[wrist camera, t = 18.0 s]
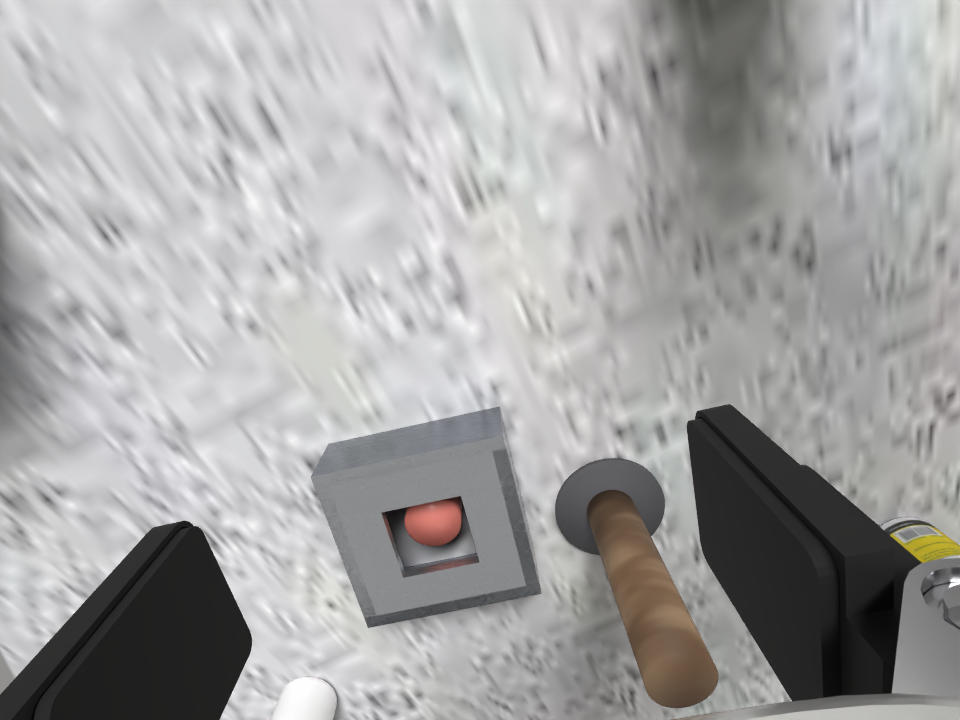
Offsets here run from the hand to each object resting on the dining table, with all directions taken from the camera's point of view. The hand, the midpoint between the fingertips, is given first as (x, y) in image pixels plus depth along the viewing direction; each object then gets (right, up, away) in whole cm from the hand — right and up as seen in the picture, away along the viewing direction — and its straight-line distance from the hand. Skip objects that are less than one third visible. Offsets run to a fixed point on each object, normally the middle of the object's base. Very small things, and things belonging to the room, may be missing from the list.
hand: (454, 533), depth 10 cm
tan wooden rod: (+11, -9, +35) cm, 38 cm away
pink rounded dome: (-3, -9, +34) cm, 35 cm away
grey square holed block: (-3, -8, +35) cm, 36 cm away
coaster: (+11, -9, +35) cm, 38 cm away
